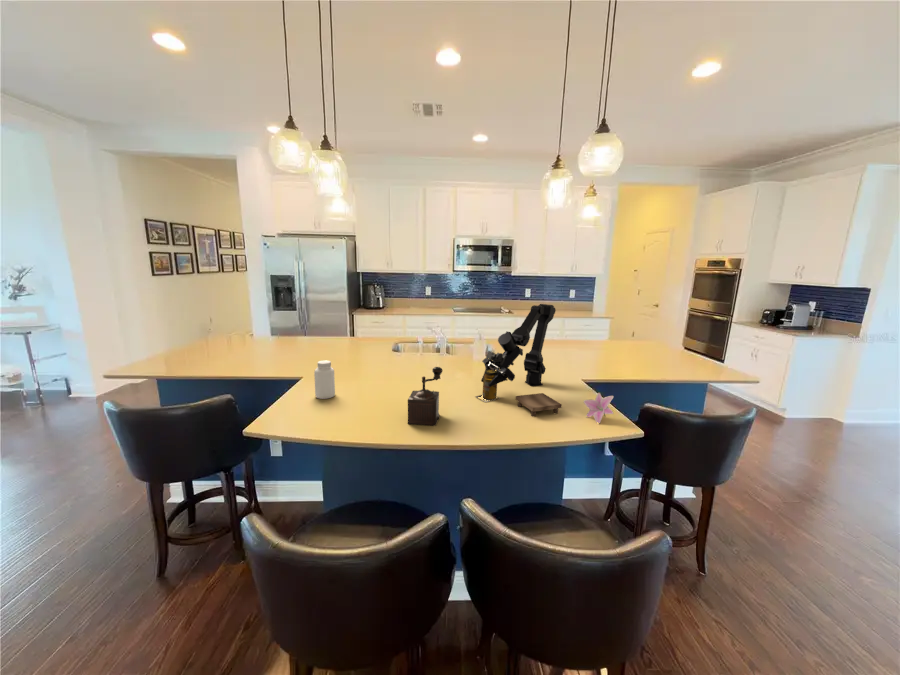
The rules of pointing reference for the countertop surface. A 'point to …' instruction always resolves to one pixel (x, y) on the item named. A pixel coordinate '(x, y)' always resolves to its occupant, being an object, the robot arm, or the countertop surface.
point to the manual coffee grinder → (424, 404)
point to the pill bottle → (324, 380)
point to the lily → (599, 407)
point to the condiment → (488, 392)
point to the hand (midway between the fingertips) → (485, 383)
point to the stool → (538, 403)
